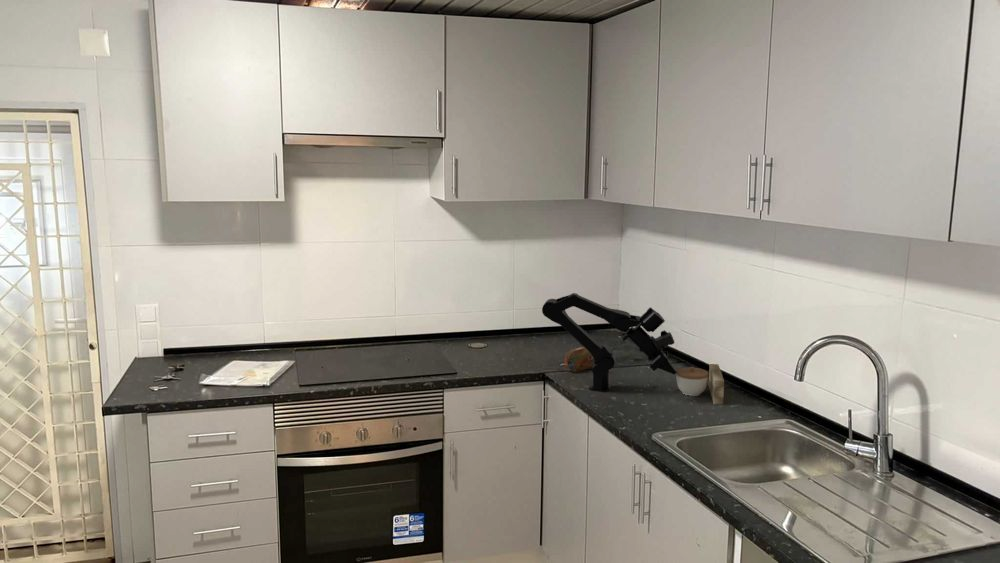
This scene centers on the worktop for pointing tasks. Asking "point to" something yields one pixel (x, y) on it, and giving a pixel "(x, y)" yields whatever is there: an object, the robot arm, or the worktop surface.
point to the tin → (578, 359)
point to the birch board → (716, 384)
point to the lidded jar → (692, 380)
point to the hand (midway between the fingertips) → (675, 373)
